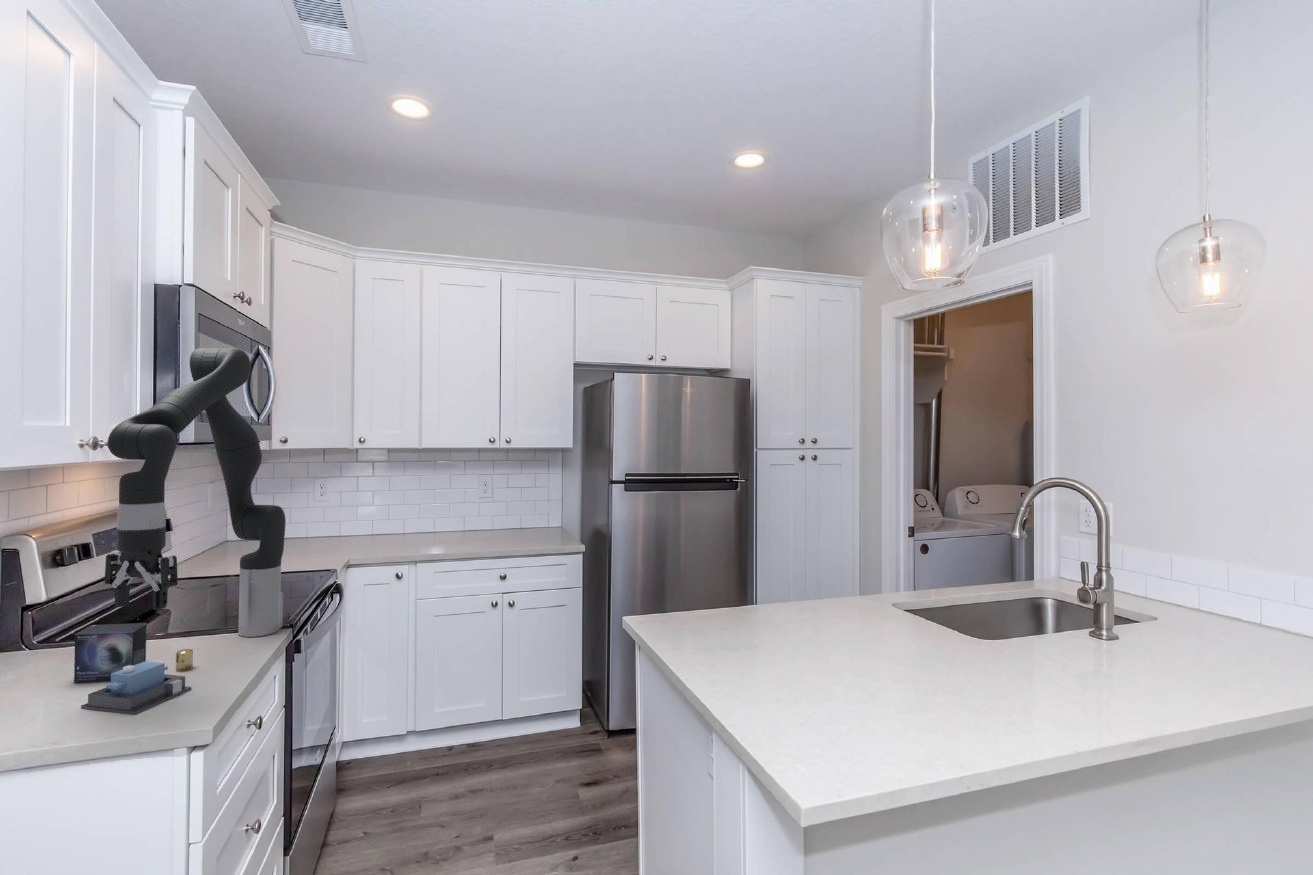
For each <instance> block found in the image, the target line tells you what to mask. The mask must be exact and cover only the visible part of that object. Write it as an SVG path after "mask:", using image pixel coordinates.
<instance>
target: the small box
mask: <svg viewBox="0 0 1313 875" xmlns="http://www.w3.org/2000/svg"><path fill="white" fill-rule="evenodd" d="M147 626H148V623H147V622H137V623H136V622H133V623H113V624H110V623H109V624H108V623H107V624H91V625H89V626H88V627H85V628H84V629H82V630H81V631H78V632H77V633H75V634H74V671H73V672H74V673H73V674H74V677H73V683H74V684H78V683H93V682H95V683H97V682H98V683H99V682H111V673H114V672H117V671H120V670H123V667H125V666H129V665H133V666H134V665H136V664H139V663H142V662H145V661H147V660H146V658H147V655H146V654H147Z"/></svg>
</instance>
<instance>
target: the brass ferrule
mask: <svg viewBox="0 0 1313 875" xmlns="http://www.w3.org/2000/svg"><path fill="white" fill-rule="evenodd" d="M193 662H194V649H192V648H184V649H180V650H179V649H178V650H177V651H176V652H175V671H176V672H178V673H181V672H182V673H183V672H187V671H190V670H192V669H193V668H194V667H193V664H194V663H193Z"/></svg>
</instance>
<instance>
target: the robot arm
mask: <svg viewBox="0 0 1313 875" xmlns="http://www.w3.org/2000/svg"><path fill="white" fill-rule="evenodd" d="M189 370H190V371H189V372H190V373H191V378H192V380H193V381H192V382H190V383H187V384H184V385H182V386H180V387H177V388H175V389H172V391H170V392H168V393H166V394H165V395H164V396H163V397H162V398H160V399H159V400H158V401H157V402H155V403H154V404H153V405H152V407H150V408H149V409H147V410H144V411H141V412H139V413H138V414H135V415H133V416H131V417H128V418H127V419H125V420H124V421H121V422H120V423H119V424H117V425H116V426H115V427H114V428H113V429H112V430H111V432H110V433H109V435H108V437H107V448H108V450H109V452H110V453H111V454H112V455H113V456H114V457H116V458H118V459H121V460H122V459H123V460H129V461H131V460H133V461H136V460H139V461H140V460H141V461H144V463H143V465H142V467H141V469H139V470H137V471H131V472H127V473H124V474H122V475H121V476H120V478H119V483H118V485H119V486H118V493H119V494H118V508H117V513H116V514H117V515H116V550H117V551H118V552H113V553H107V554H106V555H105V570H104V584H105V585H111V586H112V588H113V589H114V603H115V607H117V608H123V607H126V606H128V605H129V604H130V598H131V596H130V593H131V592H130V588H131V587H130V583H131V582H132V580H133V579H134V578H139V579H144V581H145V582H146V583H148V584H150V586H151V587H152V589H153V591H152V610H155V611H159V610H163V609H165V608H166V606H167V604H168V594H169V593H168V590H169V588H173V587H175V586H177V585H178V583H179V580H178V558H177V556H176V555H170V556H163V554H162V550H163V549H164V548H165V547H166V540H167V539H166V538H167V537H166V533H167V532H166V530H167V525H166V524H167V513H166V512H167V511H166V504H165V488H166V486H165V484H166V479H167V476H168V472H169V469H170V466H171V464H172V460H173V458H174V455H175V453H176V448H177V438H176V435H179V434H180V433H182V432H183V431H184V430H185V429H186V428H187V427H188V426H189V425H190V424H191V423H192V422H193V421H194V420H195V419H196V418H197V417H198V416H199V415H201V413H203V412H205V414H206V418H207V421H208V424H209V428H210V432H211V435H212V441H213V444H214V448H215V452H216V457H217V460H218V463H219V465H220V469H221V472H222V473H221V474H222V477H223V482H224V485H225V490H226V493H227V494H226V495H227V500H228V508H229V513H230V514H229V515H230V521H231V522H230V523H231V527H232V530H233V532H234V534H235V536H236V537H237V538H239V539H241V540H245V541H259V546H258V548H257V550H255V551H253V552H251V553H245V554H243V555H242V556H241V557H240V559H239V590H238V592H239V595H238V596H239V597H238V635H239V636H241V637H247V638H248V637H249V638H250V637H252V638H254V637H263V636H267V635H268V636H269V635H272V634H274V633H277V632H278V631H280V629H281V628H283V621H284V620H283V619H284V616H283V612H284V610H283V608H284V592H283V591H281V590H282V589H281V588H282V586H281V585H282V582H281V580H282V579H281V578H282V558H283V555H284V554H283V553H284V550H285V534H286V524H287V523H286V514H285V512H284V510H283V508H282V507H281V506H280V505H271V504H255V502H254V499H253V495H252V485H253V481H254V479H255V477H256V476H257V473H258V472H259V469H260V467H261V463H262V460H263V459H262V458H263V454H262V449H261V445H260V442H259V437H258V434H257V431H256V430H255V429H254V427H253V426H252V425H251V424H250V423H249V422H248V421H247V420H246V418H244V416H242V415H241V413H239V412H238V411H237V410H236V409H235V407H233V406H232V404H231V402H230V401H229V399H228V398H227V395H229V394H230V393H232V392H234V391H235V390H237V389H238V388H240V387H241V386H243V385H244V384H246V382H247V381H248V380H249V379H250V376H251V373H252V362H251V360H250V357H249V355H248V354H247V353H246V352H245V351H244V350H242V349H240V348H237V347H199V348H196V349H194V350H193V351H192V353H191V354H190V356H189ZM113 574H114V576H113Z"/></svg>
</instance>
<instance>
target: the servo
mask: <svg viewBox="0 0 1313 875" xmlns="http://www.w3.org/2000/svg"><path fill="white" fill-rule="evenodd" d="M167 670H169V667H168V666H167V665H165V662H156V661H150V660H146V661H145V662H142V663H139V664H136V665H134V666H133V665H129V666H125V667H123V670H120V671H117V672H114V673H111V681H110V683H108V684H105V686H106V687H105V688H110V689H111V693H117V694H126V695H133V694H136V693H138V692H140V691H143V690H145V689H148V688H150V687H153V686H155V685H157V684H160V683H162V682H164V674H165V671H167Z"/></svg>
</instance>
